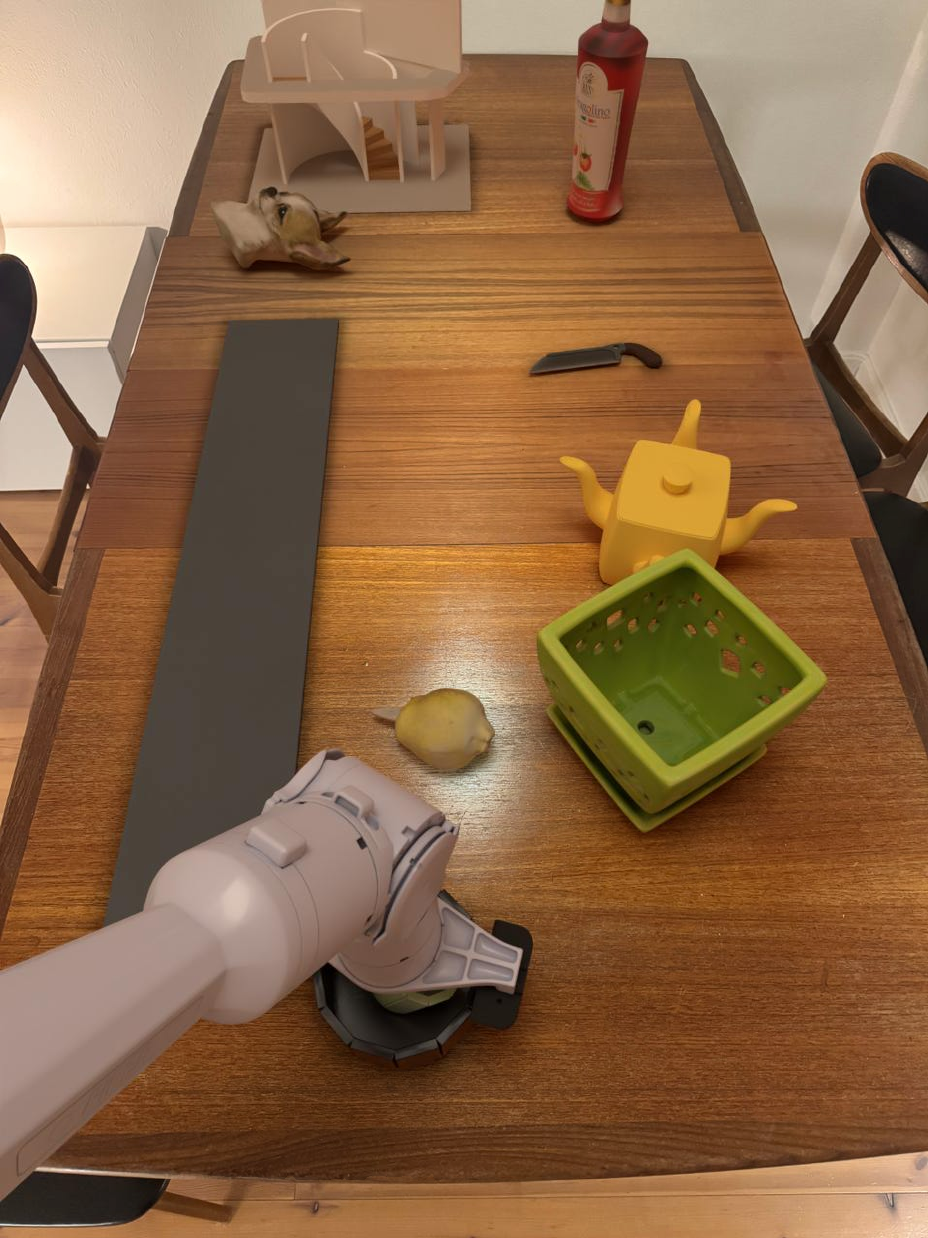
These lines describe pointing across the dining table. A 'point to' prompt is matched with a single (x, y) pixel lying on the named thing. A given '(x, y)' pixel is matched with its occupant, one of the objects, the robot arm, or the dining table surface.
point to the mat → (236, 605)
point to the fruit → (442, 727)
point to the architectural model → (360, 104)
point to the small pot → (413, 999)
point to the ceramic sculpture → (278, 230)
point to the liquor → (605, 110)
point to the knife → (595, 357)
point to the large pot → (392, 1018)
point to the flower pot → (671, 686)
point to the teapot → (668, 505)
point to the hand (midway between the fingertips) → (400, 971)
